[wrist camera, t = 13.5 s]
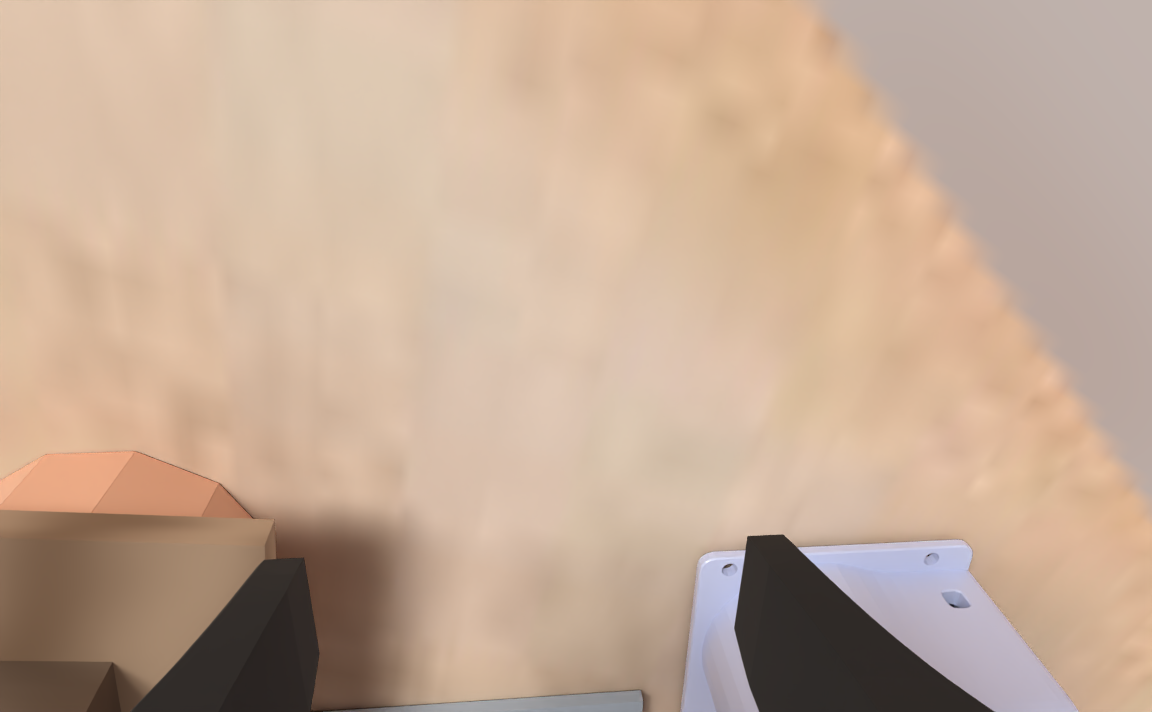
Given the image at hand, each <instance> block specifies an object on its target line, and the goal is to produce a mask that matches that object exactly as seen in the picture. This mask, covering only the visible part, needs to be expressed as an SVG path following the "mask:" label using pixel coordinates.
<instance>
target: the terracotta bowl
mask: <svg viewBox="0 0 1152 712" xmlns="http://www.w3.org/2000/svg"><path fill="white" fill-rule="evenodd" d="M0 510H19V511H48V512H76V513H105V514H133V515H162V516H190V517H219V518H247V519H253V518H252V517H251V516H250V515H249V514H248V513H247V512H246V511H245V510H244V509H243V508H242V507H241V506H240V505H239V504H238V503H237V502H236V501H235V500H234V499H233V498H232V497H231V495H230V494H229V493H228V492H227V491H226V490H225V489H224V488H223V487H222V486H221V485H220V484H218V483H217V482H214V481H211V480H209V479H206V478H204V477H201V476H198V475H196V474H193V473H191V472H188V471H185V470H183V469H180V468H177V467H175V466H172V465H170V464H167V463H164V462H162V461H159V460H157V459H154V458H151V457H149V456H146V455H144V454H141V453H138V452H135V451H132V452H103V453H74V454H46V455H44V456H42V457H41V458H39V459H37V460H35V461H34V462H32V463H30V464H28V465H27V466H25V467H23V468H22V469H20V470H18V471H16V472H15V473H13V474H11V475H9V476H8V477H6V478H4V479H3V480H1V481H0Z"/></svg>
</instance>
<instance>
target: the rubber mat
mask: <svg viewBox="0 0 1152 712" xmlns="http://www.w3.org/2000/svg"><path fill="white" fill-rule="evenodd" d="M642 710H643V698H642V693H641V690H635V691H620V692H606V693H591V694H576V695H561V696H547V697H532V698H517V699H502V700H488V701H473V702H458V703H443V704H429V705H414V706H399V707H384V708H369V709H355V710H340V711H325V712H642Z"/></svg>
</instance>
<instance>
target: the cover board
mask: <svg viewBox="0 0 1152 712" xmlns="http://www.w3.org/2000/svg"><path fill="white" fill-rule="evenodd" d="M269 559H276V539H275V519H247V518H219V517H190V516H162V515H133V514H105V513H76V512H48V511H19V510H0V712H130V711H131V710H132V709H133V708H134V707H135V706H136V705H137V704H138V703H139V702H140V701H141V699H142V698H143V697H144V696H145V695H146V694H147V693H148V692H149V691H150V690H151V689H152V688H153V687H154V686H155V685H156V684H157V683H158V682H159V681H160V680H161V679H162V678H163V677H164V676H165V675H166V673H167V672H168V671H169V670H170V669H171V668H172V667H173V666H174V665H175V664H176V663H177V661H178V660H179V659H180V658H181V657H182V656H183V655H184V653H185V652H186V651H187V650H188V649H189V648H190V647H191V645H192V644H193V643H194V642H195V641H196V640H197V639H198V638H199V636H200V635H201V634H202V633H203V632H204V631H205V630H206V628H207V627H208V626H209V625H210V624H211V622H212V621H213V620H214V619H215V618H216V616H217V615H218V614H219V613H220V612H221V610H222V609H223V608H224V607H225V606H226V604H227V603H228V602H229V601H230V600H231V598H232V597H233V596H234V595H235V593H236V592H237V591H238V590H239V588H240V587H241V586H242V585H243V584H244V582H245V581H246V580H247V579H248V577H249V576H250V575H251V574H252V572H253V571H254V570H255V569H256V567H257V566H258V565H259V564H260V563H261V562H262V561H263V560H269Z"/></svg>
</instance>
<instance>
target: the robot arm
mask: <svg viewBox="0 0 1152 712" xmlns="http://www.w3.org/2000/svg"><path fill="white" fill-rule="evenodd" d="M931 553H932V554H931ZM929 554H931V555H929ZM927 555H929V556H928V557H926V556H927ZM972 556H973V551H972V549H971V548H970V546H969V545H968V544H967V543H966V542H965V541H963V540H958V539H956V540H936V541H916V542H896V543H876V544H856V545H836V546H817V547H796V546H795V545H794V544H793V543H792V542H791V541H790V540H788V539H787V538H786V537H785V536H784V535H763V536H748V537H747V544H746V550H737V551H717V552H710V553H707V554H705V555H703V556H702V557H701V558H700V559H699V561H698V564H697V572H696V580H695V589H694V598H693V606H692V615H691V624H690V632H689V641H688V650H687V659H686V667H685V676H684V685H683V693H682V702H681V711H680V712H1079V711H1078V709H1077V708H1076V706H1075V705H1074V704H1073V702H1072V701H1071V699H1070V698H1069V697H1068V695H1067V694H1066V693H1065V691H1064V690H1063V689H1062V688H1061V686H1060V685H1059V684H1058V683H1057V681H1056V680H1055V679H1054V678H1053V676H1052V675H1051V674H1050V673H1049V671H1048V670H1047V669H1046V668H1045V666H1044V665H1043V664H1042V662H1041V661H1040V660H1039V659H1038V657H1037V656H1036V655H1035V654H1034V652H1033V651H1032V650H1031V649H1030V647H1029V646H1028V645H1027V644H1026V642H1025V641H1024V640H1023V639H1022V637H1021V636H1020V635H1019V634H1018V632H1017V631H1016V630H1015V629H1014V627H1013V626H1012V625H1011V624H1010V622H1009V621H1008V620H1007V618H1006V617H1005V616H1004V615H1003V613H1002V612H1001V611H1000V610H999V608H998V607H997V606H996V605H995V603H994V602H993V601H992V600H991V598H990V597H989V596H988V595H987V593H986V592H985V591H984V590H983V588H982V587H981V586H980V585H979V583H978V582H977V581H976V579H975V578H974V577H973V576H972V574H971V573H970V572H969V571H968V569H969V566H970V563H971V559H972ZM727 564H733V565H732V566H730V567H728V568H723V567H724V566H725V565H727ZM318 659H319V648H318V642H317V636H316V630H315V623H314V617H313V611H312V605H311V599H310V593H309V586H308V580H307V574H306V568H305V562H304V558H290V559H269V560H263V561H262V562H261V563H260V564H259V565H258V566H257V567H256V569H255V570H254V571H253V572H252V574H251V575H250V576H249V577H248V579H247V580H246V581H245V582H244V584H243V585H242V586H241V587H240V588H239V590H238V591H237V592H236V593H235V595H234V596H233V597H232V598H231V600H230V601H229V602H228V603H227V604H226V606H225V607H224V608H223V609H222V610H221V612H220V613H219V614H218V615H217V616H216V618H215V619H214V620H213V621H212V622H211V624H210V625H209V626H208V627H207V628H206V630H205V631H204V632H203V633H202V634H201V635H200V636H199V638H198V639H197V640H196V641H195V642H194V643H193V644H192V645H191V647H190V648H189V649H188V650H187V651H186V652H185V653H184V655H183V656H182V657H181V658H180V659H179V660H178V661H177V663H176V664H175V665H174V666H173V667H172V668H171V669H170V670H169V671H168V672H167V673H166V675H165V676H164V677H163V678H162V679H161V680H160V681H159V682H158V683H157V684H156V685H155V686H154V687H153V688H152V689H151V690H150V691H149V692H148V693H147V694H146V695H145V696H144V697H143V698H142V699H141V701H140V702H139V703H138V704H137V705H136V706H135V707H134V708H133V709H132V710H131V711H130V712H310V710H311V704H312V698H313V692H314V686H315V679H316V673H317V666H318Z"/></svg>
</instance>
